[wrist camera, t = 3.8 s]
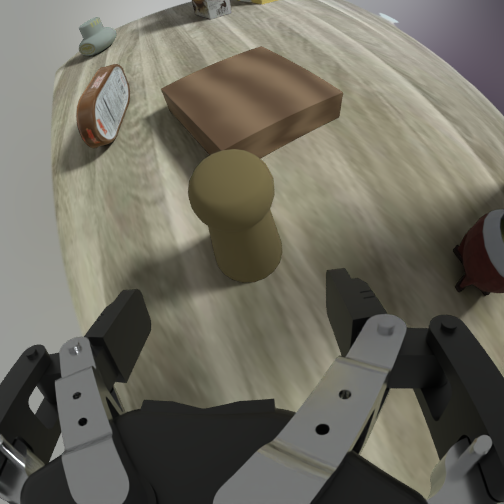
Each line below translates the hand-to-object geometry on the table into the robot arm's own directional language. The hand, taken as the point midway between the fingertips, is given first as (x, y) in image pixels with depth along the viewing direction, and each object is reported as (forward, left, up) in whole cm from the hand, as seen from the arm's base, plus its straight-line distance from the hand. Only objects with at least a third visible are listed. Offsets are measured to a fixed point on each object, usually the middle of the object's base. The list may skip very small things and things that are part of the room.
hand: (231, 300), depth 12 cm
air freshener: (-5, -78, -12) cm, 80 cm away
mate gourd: (-21, +9, -12) cm, 25 cm away
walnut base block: (-15, -22, -12) cm, 29 cm away
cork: (-4, -6, -12) cm, 14 cm away
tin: (0, -35, -12) cm, 37 cm away
